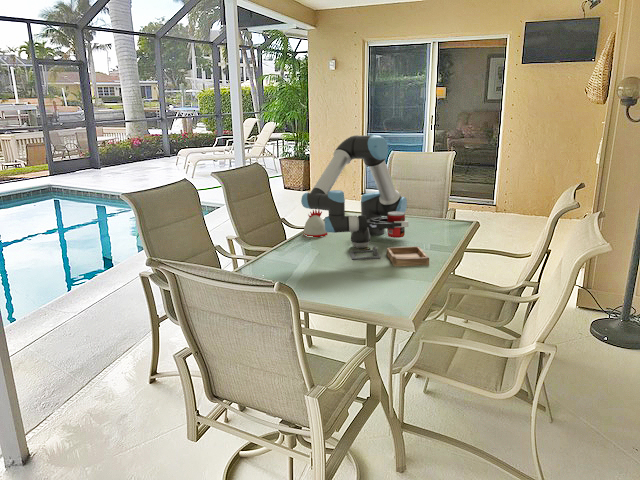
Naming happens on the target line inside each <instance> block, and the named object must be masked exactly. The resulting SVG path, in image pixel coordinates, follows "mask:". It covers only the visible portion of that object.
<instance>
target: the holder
mask: <svg viewBox="0 0 640 480" xmlns="http://www.w3.org/2000/svg"><path fill="white" fill-rule="evenodd" d="M372 247H373V248H372V249H362V250H358V249H357V250H349V253H348V254H349V255H350V257H351V260H356V261H357V260H372V259H374V260H375V259H381V256H380V254H379V253H378V248H377V246H374V245H373V246H372ZM355 253H372V254H373V255H374V256H359V257H358V256H356V255H355Z"/></svg>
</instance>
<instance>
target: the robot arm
mask: <svg viewBox="0 0 640 480" xmlns="http://www.w3.org/2000/svg"><path fill="white" fill-rule="evenodd" d="M388 148H389V145H388V142H387V140H386V139H385V137H383V136H381V135H376V134H373V135H351V136H350V137H347V138H345V140H343V141H342V142H341V143H340V144H339V145H338V146H337V147H336V149H334V152H333V156H332V158H331V159H330V161H329V163H328V165H327V166H326V168H325V169H324V171H323V172H322V174H321V175H320V177H319V178H318V180H317V181H316V183H315V185H314V186H313V188H312V189H311V191H310V192H305V193H303V194H302V196H301V198H300V199H301V200H300V201H301V205H302V207H303V208H305V209H309V210H320V211H328V215H327V216H325V217H324V222H325V231H326V232H327V233H333V234H335V233H336V234H337V233H349V232H350V233H353V232H357V230H358V231H359V232H363V231H366V230H367V227H368V229H369V233H370V236H380V235H383V234H385V232H386V231H385V230H388V229H394V227H405V228H409V223H410V222H409V220H405V221H394V222H388V212H393V211H399V212H404V213H405V214H406V210H407V206H408V200H407V197H404V196H401V194H400V192H399V190H397V189H396V188H395V185H394V182H393V180H392V176H391V174H390V172H389V169H388V165H387V163H386V159H387V156H388V154H389V149H388ZM355 159H358V160H362V161H363V163H364V165H365V166H366V167H369V171H370V173H371V175H372V177H373V180H374V182H375V186H376V188H377V191H376V192H375V191H374V192H368V193H367V192H366V193H364V194H362V195H361V197H360V205H361V206H360V211H361V213H360V214H361V215H360V214H359V215H346V214H345V212H346V207H345V202H346V199H345V192H344V191H343V190H339V189H338V190H337V189H335V190H334V189H333V190H331V189H332V188H333V186H334V185H335V183H336V182H337V180H338V178H339V176H341V174H342V172H343V171H344V169H345V167H346V166H347V165H348V164H350V163H351V162H352V160H355Z"/></svg>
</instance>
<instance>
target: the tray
mask: <svg viewBox="0 0 640 480" xmlns="http://www.w3.org/2000/svg"><path fill="white" fill-rule="evenodd" d="M386 256H387V257H388V259H389V260H390V262H391V263H392V266H393V267H413V266H416V267H417V266H430V257H429V255H427V253H426V252H425V251H424V250H423V249H422V248H421V247H420V246H418V245H417V246H416V245H415V246H396V247H393V246H392V247H391V246H390V247H386Z"/></svg>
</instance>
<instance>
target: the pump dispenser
mask: <svg viewBox="0 0 640 480" xmlns="http://www.w3.org/2000/svg"><path fill="white" fill-rule="evenodd" d="M350 233H351V232H350ZM350 241H351V244H352V246H353V247H354V248H356V249H365V248H367V247H368V246H369V245H370V242H371V235H370V233H369V229H368V227H367V230H366V231H363V232H359V231H358V230H357V232H353V233H351V234H350Z"/></svg>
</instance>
